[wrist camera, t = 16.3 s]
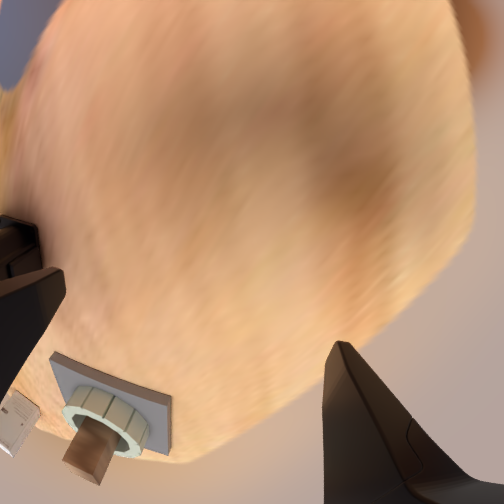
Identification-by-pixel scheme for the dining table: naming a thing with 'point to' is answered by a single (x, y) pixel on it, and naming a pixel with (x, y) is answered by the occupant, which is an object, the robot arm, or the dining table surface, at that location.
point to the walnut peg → (91, 450)
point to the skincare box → (16, 422)
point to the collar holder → (114, 407)
